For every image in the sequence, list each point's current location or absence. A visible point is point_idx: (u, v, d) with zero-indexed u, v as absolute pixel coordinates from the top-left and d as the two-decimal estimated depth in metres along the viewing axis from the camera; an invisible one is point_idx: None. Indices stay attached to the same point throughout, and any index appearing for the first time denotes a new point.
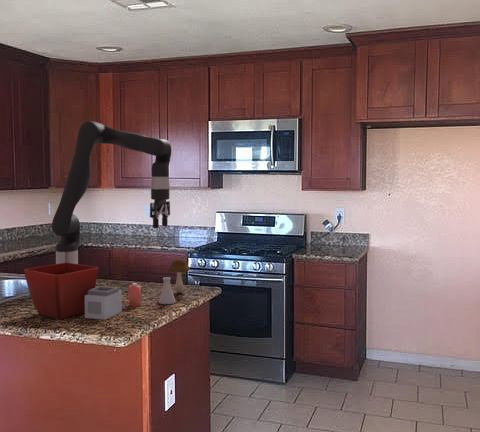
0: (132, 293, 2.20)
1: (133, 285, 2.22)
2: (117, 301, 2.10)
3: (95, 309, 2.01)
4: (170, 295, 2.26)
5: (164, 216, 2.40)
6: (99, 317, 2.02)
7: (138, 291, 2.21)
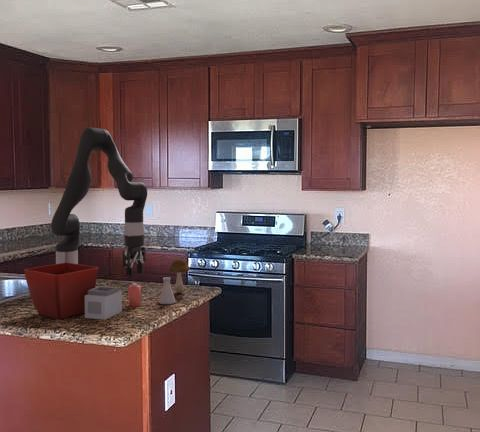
0: (132, 293, 2.20)
1: (133, 285, 2.22)
2: (117, 301, 2.10)
3: (95, 309, 2.01)
4: (170, 295, 2.26)
5: (139, 263, 2.26)
6: (99, 317, 2.02)
7: (138, 291, 2.21)
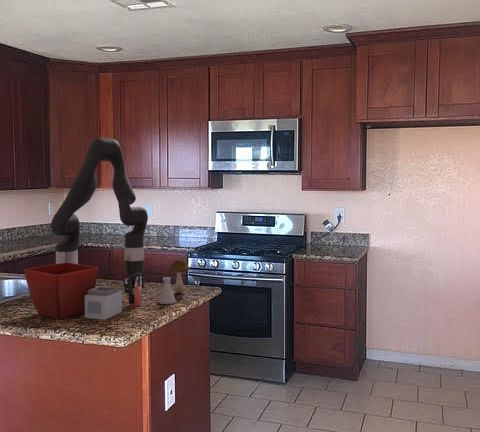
0: None
1: (133, 285, 2.22)
2: (117, 301, 2.10)
3: (95, 309, 2.01)
4: (170, 295, 2.26)
5: None
6: (99, 317, 2.02)
7: (138, 291, 2.21)
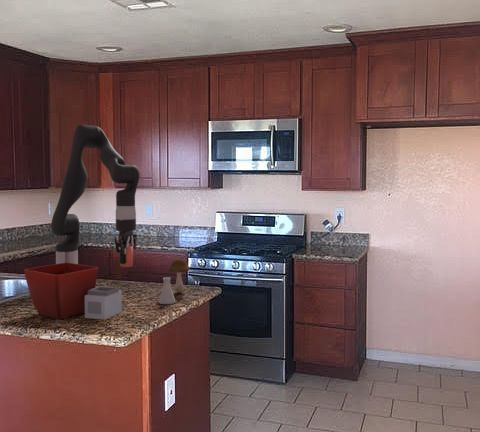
0: None
1: None
2: (117, 301, 2.10)
3: (95, 309, 2.01)
4: (170, 295, 2.26)
5: None
6: (99, 317, 2.02)
7: (130, 251, 2.15)
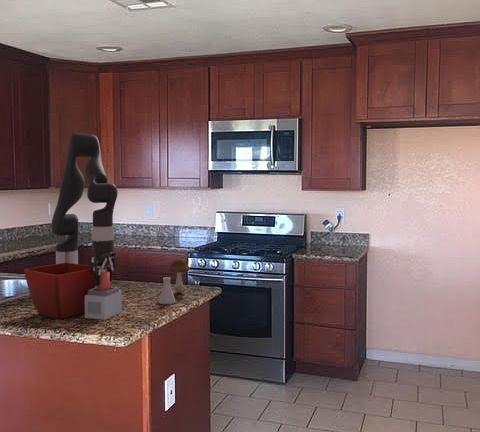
0: (100, 279, 2.05)
1: (101, 271, 2.06)
2: (117, 301, 2.10)
3: (95, 309, 2.01)
4: (170, 295, 2.26)
5: (109, 270, 2.11)
6: (99, 317, 2.02)
7: (107, 277, 2.05)
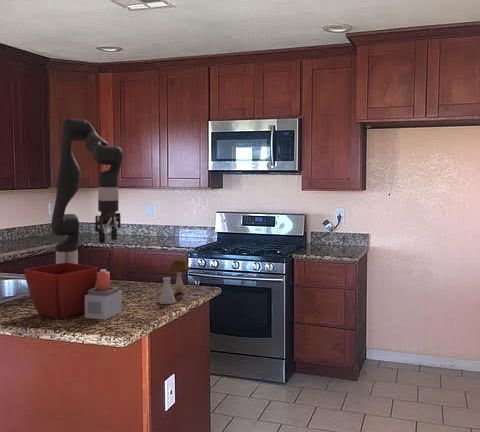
0: (100, 279, 2.05)
1: (101, 271, 2.06)
2: (117, 301, 2.10)
3: (95, 309, 2.01)
4: (170, 295, 2.26)
5: (113, 229, 2.22)
6: (99, 317, 2.02)
7: (107, 278, 2.05)
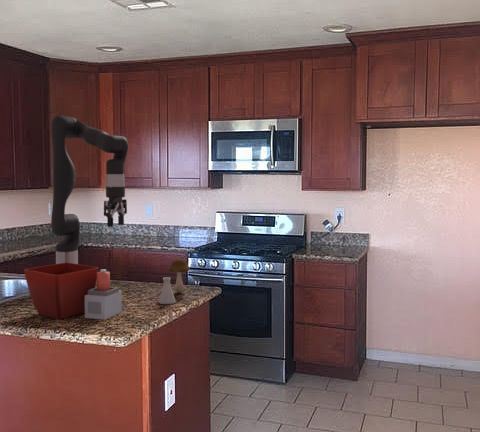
0: (100, 279, 2.05)
1: (101, 271, 2.06)
2: (117, 301, 2.10)
3: (95, 309, 2.01)
4: (170, 295, 2.26)
5: (120, 214, 2.35)
6: (99, 317, 2.02)
7: (107, 278, 2.05)
